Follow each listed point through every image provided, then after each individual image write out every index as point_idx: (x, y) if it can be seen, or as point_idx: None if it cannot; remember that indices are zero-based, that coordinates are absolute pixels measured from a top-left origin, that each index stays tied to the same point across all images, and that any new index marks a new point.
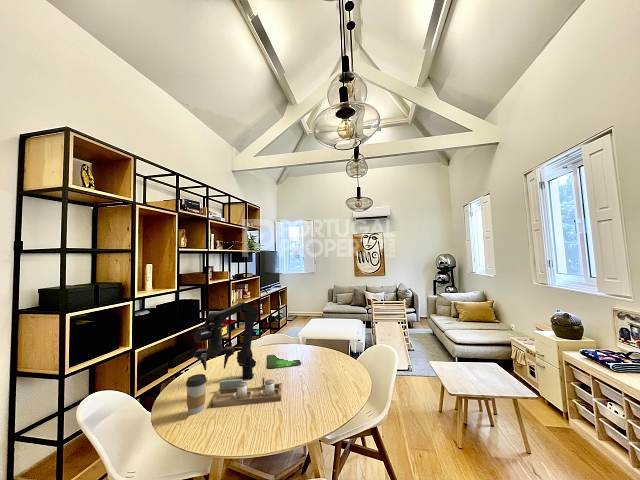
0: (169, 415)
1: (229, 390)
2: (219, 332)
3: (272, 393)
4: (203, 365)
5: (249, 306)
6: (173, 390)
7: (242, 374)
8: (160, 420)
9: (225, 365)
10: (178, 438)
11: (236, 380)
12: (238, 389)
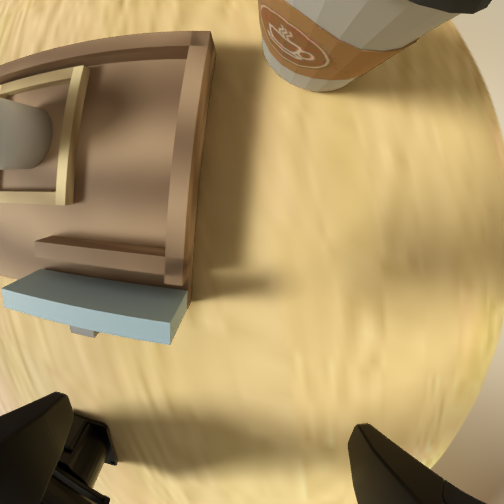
0: (452, 97)
1: (99, 245)
2: None
3: None
4: (421, 470)
5: None
6: (461, 390)
7: (98, 450)
8: (470, 70)
9: (18, 408)
10: None
11: (32, 298)
12: (2, 100)
